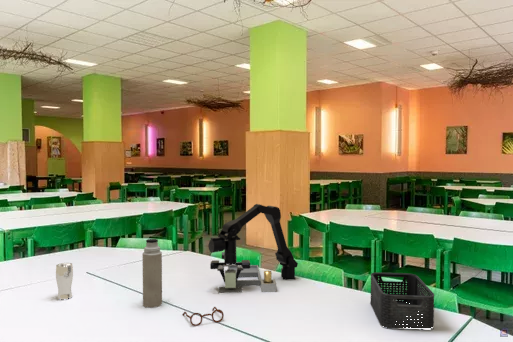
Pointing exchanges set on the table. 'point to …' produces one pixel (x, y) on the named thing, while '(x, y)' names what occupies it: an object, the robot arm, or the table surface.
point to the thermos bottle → (152, 274)
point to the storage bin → (395, 310)
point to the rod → (267, 277)
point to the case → (248, 275)
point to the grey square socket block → (268, 286)
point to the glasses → (205, 315)
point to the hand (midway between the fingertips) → (230, 282)
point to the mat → (230, 289)
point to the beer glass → (64, 280)
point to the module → (230, 278)
